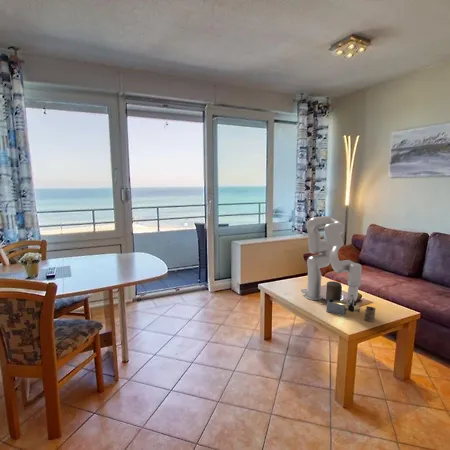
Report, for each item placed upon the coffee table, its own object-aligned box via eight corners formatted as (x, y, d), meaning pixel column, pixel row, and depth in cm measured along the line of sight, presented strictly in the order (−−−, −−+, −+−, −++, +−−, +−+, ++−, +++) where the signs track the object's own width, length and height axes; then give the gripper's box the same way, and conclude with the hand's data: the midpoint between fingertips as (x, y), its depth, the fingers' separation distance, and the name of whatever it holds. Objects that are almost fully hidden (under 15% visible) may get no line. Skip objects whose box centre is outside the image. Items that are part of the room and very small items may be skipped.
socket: (364, 320, 186) (365, 309, 185) (365, 316, 192) (366, 306, 191) (373, 322, 184) (374, 311, 182) (374, 318, 189) (375, 307, 188)
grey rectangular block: (326, 311, 198) (327, 301, 197) (328, 308, 203) (329, 298, 202) (344, 315, 193) (344, 305, 191) (345, 312, 198) (346, 302, 197)
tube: (332, 307, 197) (333, 302, 196) (333, 305, 200) (334, 300, 200) (359, 313, 189) (359, 308, 188) (359, 311, 192) (360, 305, 191)
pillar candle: (341, 305, 209) (342, 284, 206) (326, 303, 211) (327, 283, 208) (338, 299, 218) (340, 280, 216) (324, 298, 220) (326, 278, 218)
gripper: (350, 277, 199) (348, 303, 202) (345, 285, 184) (343, 313, 187) (362, 279, 195) (360, 305, 198) (358, 288, 180) (356, 315, 183)
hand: (352, 309), depth 192 cm, fingers open, 7 cm apart
